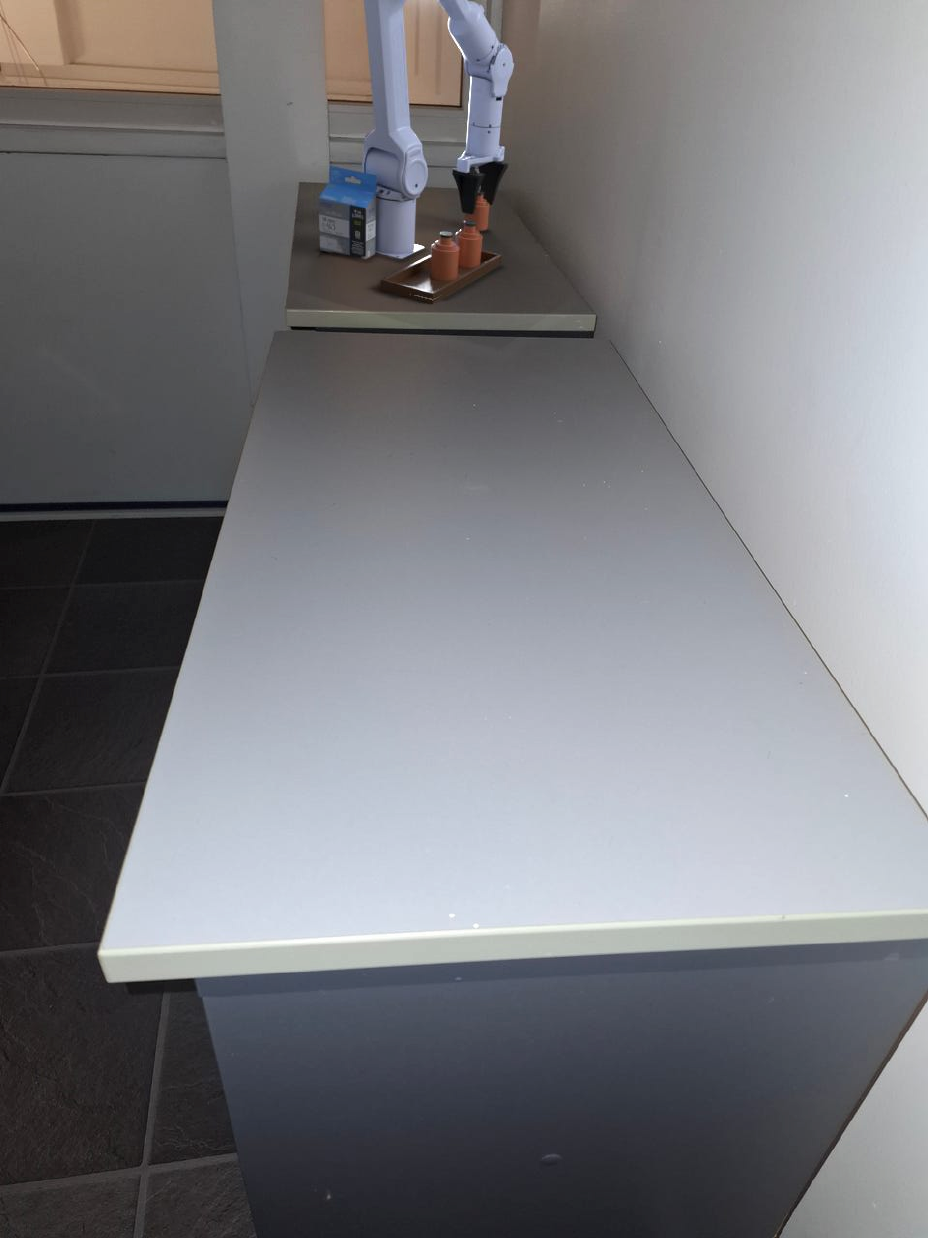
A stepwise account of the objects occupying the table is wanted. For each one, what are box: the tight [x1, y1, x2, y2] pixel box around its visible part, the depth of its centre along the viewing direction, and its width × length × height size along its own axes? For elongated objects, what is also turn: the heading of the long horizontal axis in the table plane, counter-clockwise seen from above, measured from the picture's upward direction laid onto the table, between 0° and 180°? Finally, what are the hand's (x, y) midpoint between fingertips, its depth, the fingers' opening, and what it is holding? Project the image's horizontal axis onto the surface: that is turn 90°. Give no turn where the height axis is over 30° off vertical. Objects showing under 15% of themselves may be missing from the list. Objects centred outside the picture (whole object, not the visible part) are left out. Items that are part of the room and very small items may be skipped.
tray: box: [379, 249, 503, 305], centre depth 136 cm, size 23×9×2 cm, turn 152°
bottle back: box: [454, 220, 484, 268], centre depth 140 cm, size 4×4×6 cm
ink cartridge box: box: [317, 165, 377, 260], centre depth 139 cm, size 9×4×12 cm, turn 67°
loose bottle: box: [463, 189, 491, 231], centre depth 156 cm, size 4×4×6 cm
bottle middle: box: [430, 231, 459, 281], centre depth 134 cm, size 4×4×6 cm
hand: (477, 208), depth 156 cm, fingers open, 7 cm apart
